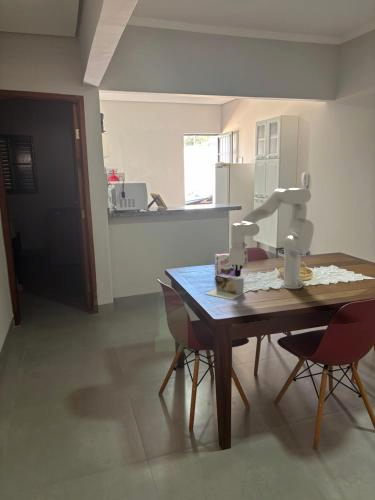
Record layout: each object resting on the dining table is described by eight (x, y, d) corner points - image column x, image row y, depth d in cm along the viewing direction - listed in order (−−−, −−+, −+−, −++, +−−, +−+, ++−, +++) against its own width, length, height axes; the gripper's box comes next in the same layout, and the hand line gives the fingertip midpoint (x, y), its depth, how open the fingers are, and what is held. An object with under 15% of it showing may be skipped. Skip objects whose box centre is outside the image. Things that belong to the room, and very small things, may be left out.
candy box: (216, 279, 248) (216, 255, 245) (214, 277, 254) (214, 253, 250) (236, 278, 251) (236, 254, 247) (233, 275, 256) (233, 252, 253)
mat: (247, 291, 223) (247, 290, 223) (231, 299, 209) (231, 299, 209) (221, 286, 233) (221, 285, 233) (205, 294, 219) (205, 293, 219)
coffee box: (244, 277, 218) (222, 273, 229) (237, 280, 213) (215, 274, 224) (243, 292, 219) (222, 287, 230) (237, 295, 215) (215, 289, 226)
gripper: (252, 245, 210) (252, 276, 214) (229, 242, 219) (229, 272, 223) (246, 247, 204) (246, 279, 208) (223, 244, 213) (223, 275, 217)
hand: (237, 276), depth 215 cm, fingers closed
